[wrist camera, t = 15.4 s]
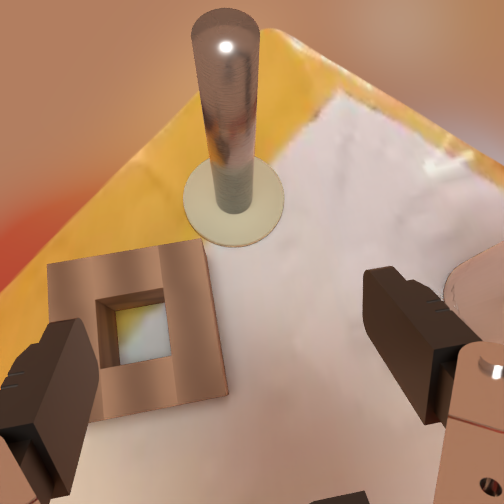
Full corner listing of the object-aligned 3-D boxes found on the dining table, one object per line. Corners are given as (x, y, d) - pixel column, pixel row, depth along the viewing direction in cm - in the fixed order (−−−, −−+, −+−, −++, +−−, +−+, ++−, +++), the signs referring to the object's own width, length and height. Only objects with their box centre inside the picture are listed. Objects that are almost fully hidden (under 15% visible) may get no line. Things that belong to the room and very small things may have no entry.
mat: (272, 150, 48) (273, 145, 47) (292, 237, 45) (293, 234, 44) (178, 164, 47) (177, 160, 46) (191, 255, 44) (190, 252, 43)
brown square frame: (206, 257, 44) (201, 238, 38) (228, 393, 40) (226, 395, 34) (73, 280, 43) (46, 264, 37) (81, 423, 39) (53, 429, 33)
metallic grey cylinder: (248, 178, 46) (252, 4, 25) (255, 210, 45) (265, 56, 24) (213, 184, 45) (186, 12, 25) (218, 217, 44) (196, 66, 23)
